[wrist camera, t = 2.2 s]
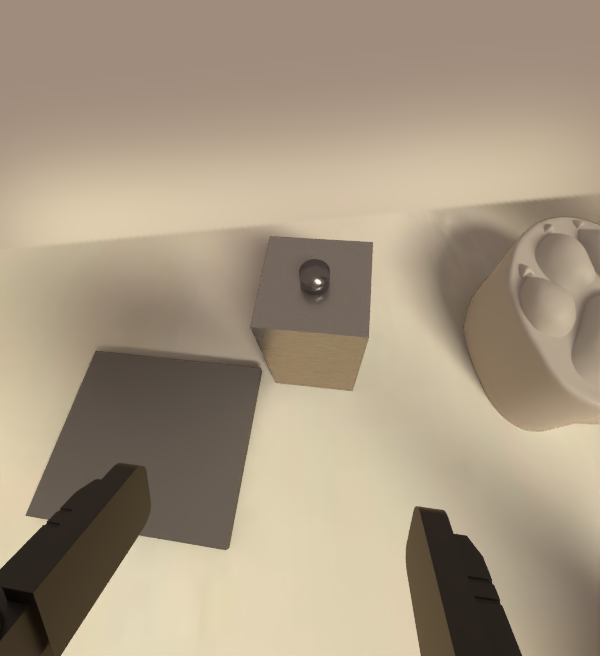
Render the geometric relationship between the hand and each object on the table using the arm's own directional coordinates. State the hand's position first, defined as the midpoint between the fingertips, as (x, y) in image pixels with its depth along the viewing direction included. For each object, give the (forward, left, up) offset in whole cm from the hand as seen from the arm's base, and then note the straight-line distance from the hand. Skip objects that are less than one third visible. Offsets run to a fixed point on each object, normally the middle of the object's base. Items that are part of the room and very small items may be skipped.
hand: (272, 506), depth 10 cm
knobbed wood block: (-3, -10, -14) cm, 18 cm away
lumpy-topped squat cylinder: (-20, -8, -14) cm, 26 cm away
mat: (+10, -5, -14) cm, 18 cm away
